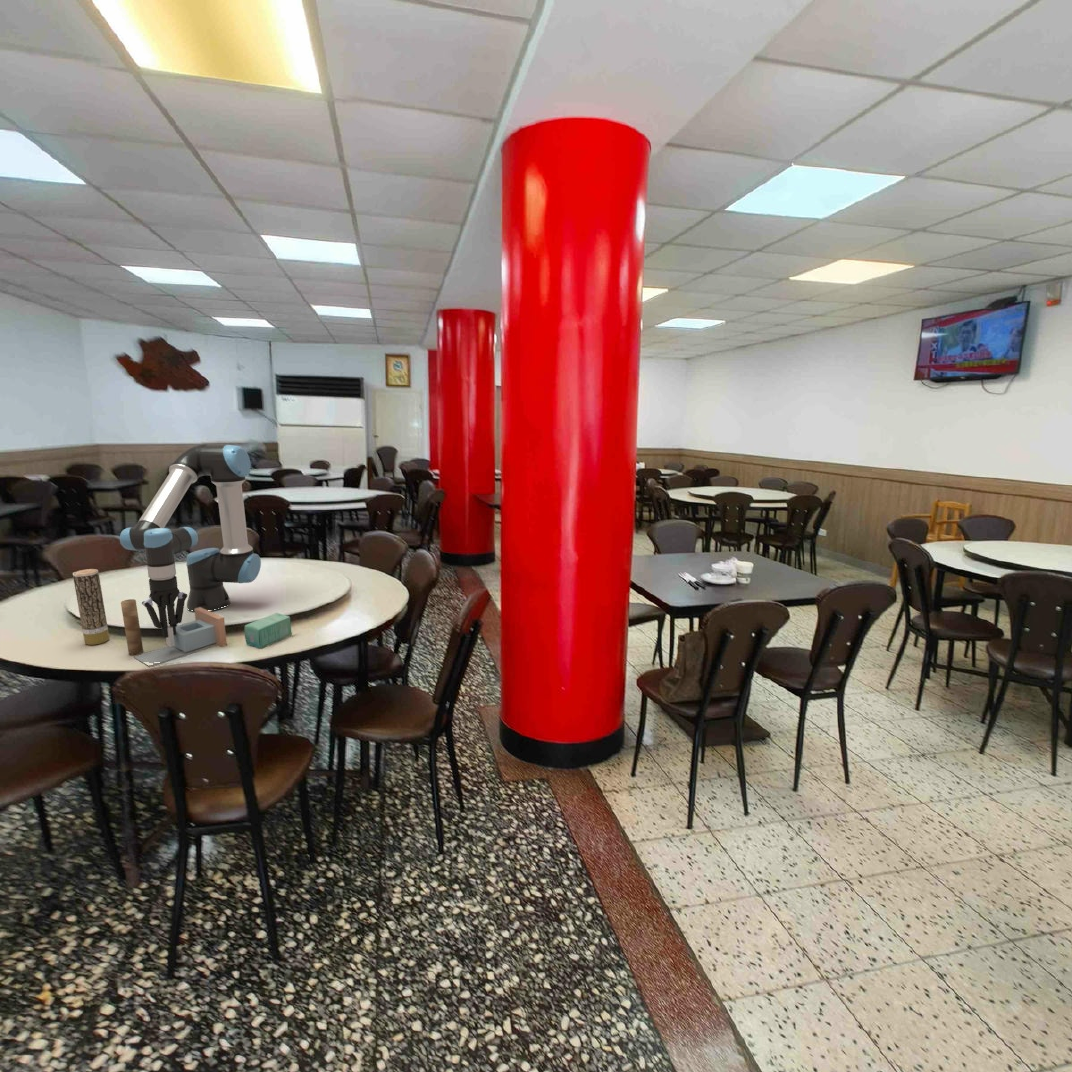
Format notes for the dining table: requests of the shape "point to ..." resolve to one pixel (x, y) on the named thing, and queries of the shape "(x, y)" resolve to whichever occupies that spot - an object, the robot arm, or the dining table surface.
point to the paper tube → (91, 606)
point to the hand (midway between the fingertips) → (170, 645)
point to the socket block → (194, 635)
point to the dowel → (132, 627)
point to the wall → (215, 621)
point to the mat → (166, 654)
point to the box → (267, 630)
